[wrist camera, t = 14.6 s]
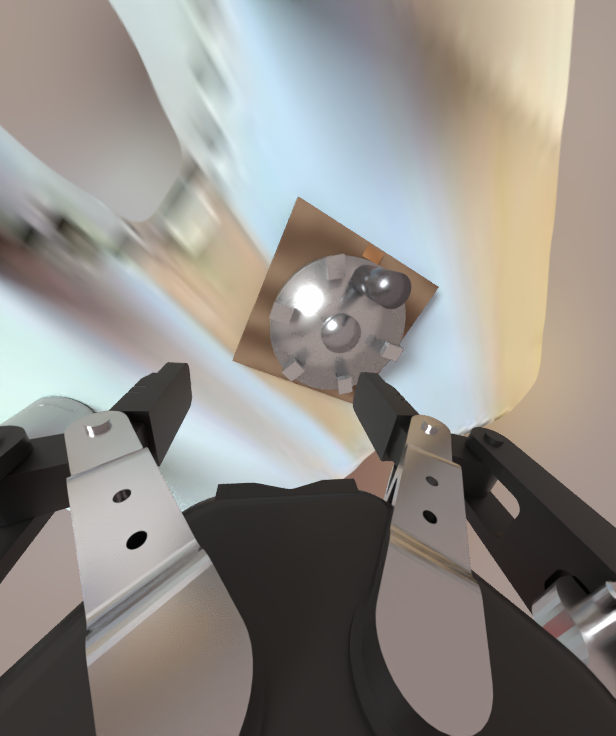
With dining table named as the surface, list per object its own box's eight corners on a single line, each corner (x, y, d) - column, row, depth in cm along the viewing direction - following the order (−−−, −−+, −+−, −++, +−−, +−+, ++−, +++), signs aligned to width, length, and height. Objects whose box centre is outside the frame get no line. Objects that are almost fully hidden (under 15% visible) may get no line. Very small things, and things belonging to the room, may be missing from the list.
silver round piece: (252, 361, 34) (245, 406, 25) (296, 228, 27) (308, 221, 18) (360, 391, 39) (388, 438, 30) (421, 287, 32) (481, 305, 23)
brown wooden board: (352, 398, 43) (356, 405, 41) (234, 354, 36) (232, 361, 34) (430, 284, 35) (439, 287, 33) (296, 199, 27) (298, 196, 26)
